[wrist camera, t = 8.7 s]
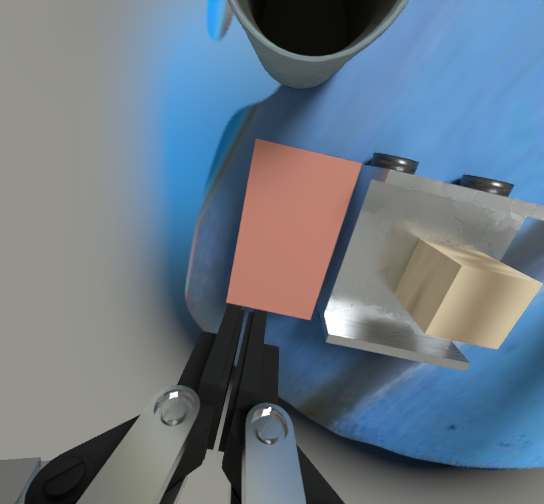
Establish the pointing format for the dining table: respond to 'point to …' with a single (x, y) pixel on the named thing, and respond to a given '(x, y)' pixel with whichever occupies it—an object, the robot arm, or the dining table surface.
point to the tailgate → (289, 227)
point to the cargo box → (463, 294)
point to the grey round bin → (312, 34)
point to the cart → (407, 252)
